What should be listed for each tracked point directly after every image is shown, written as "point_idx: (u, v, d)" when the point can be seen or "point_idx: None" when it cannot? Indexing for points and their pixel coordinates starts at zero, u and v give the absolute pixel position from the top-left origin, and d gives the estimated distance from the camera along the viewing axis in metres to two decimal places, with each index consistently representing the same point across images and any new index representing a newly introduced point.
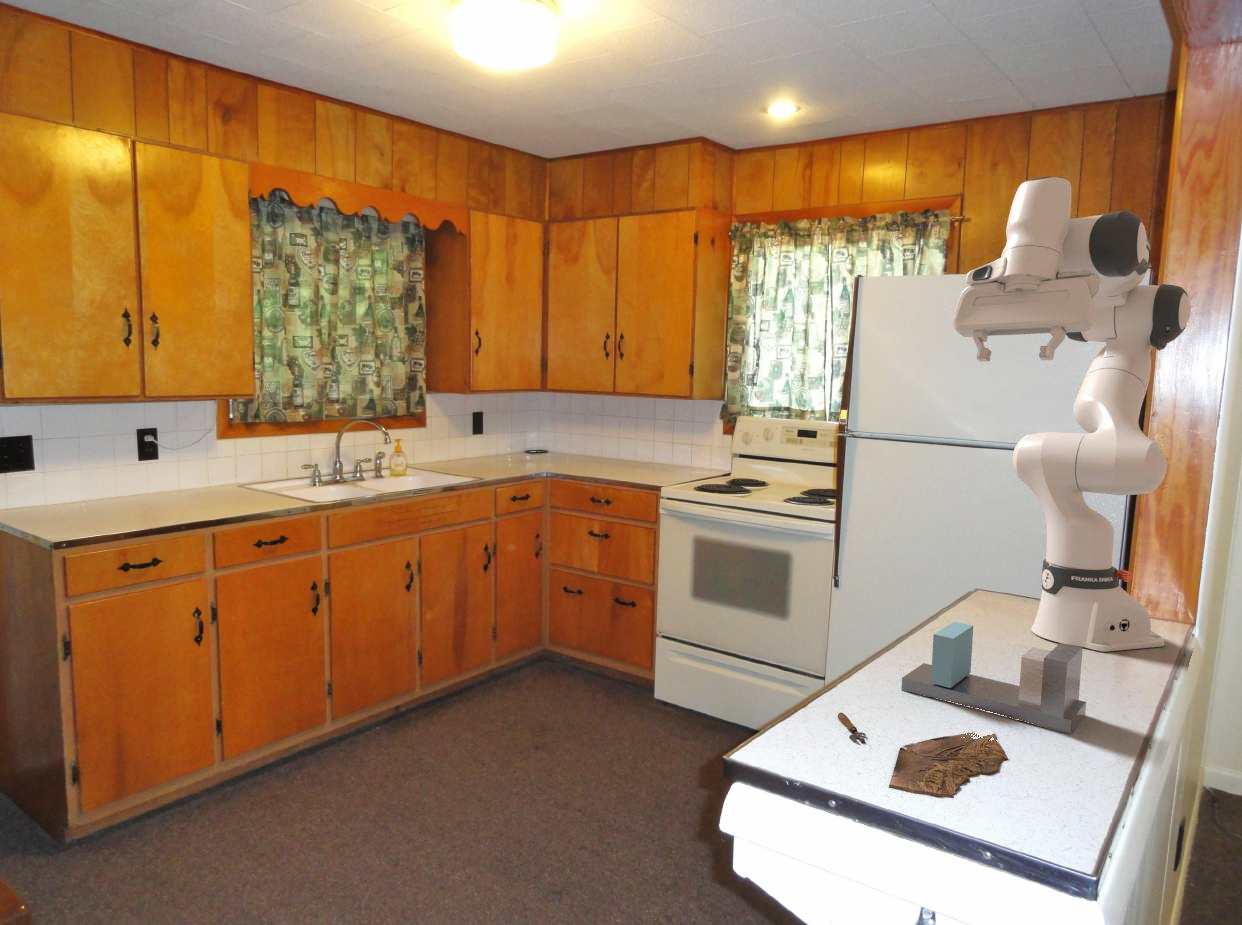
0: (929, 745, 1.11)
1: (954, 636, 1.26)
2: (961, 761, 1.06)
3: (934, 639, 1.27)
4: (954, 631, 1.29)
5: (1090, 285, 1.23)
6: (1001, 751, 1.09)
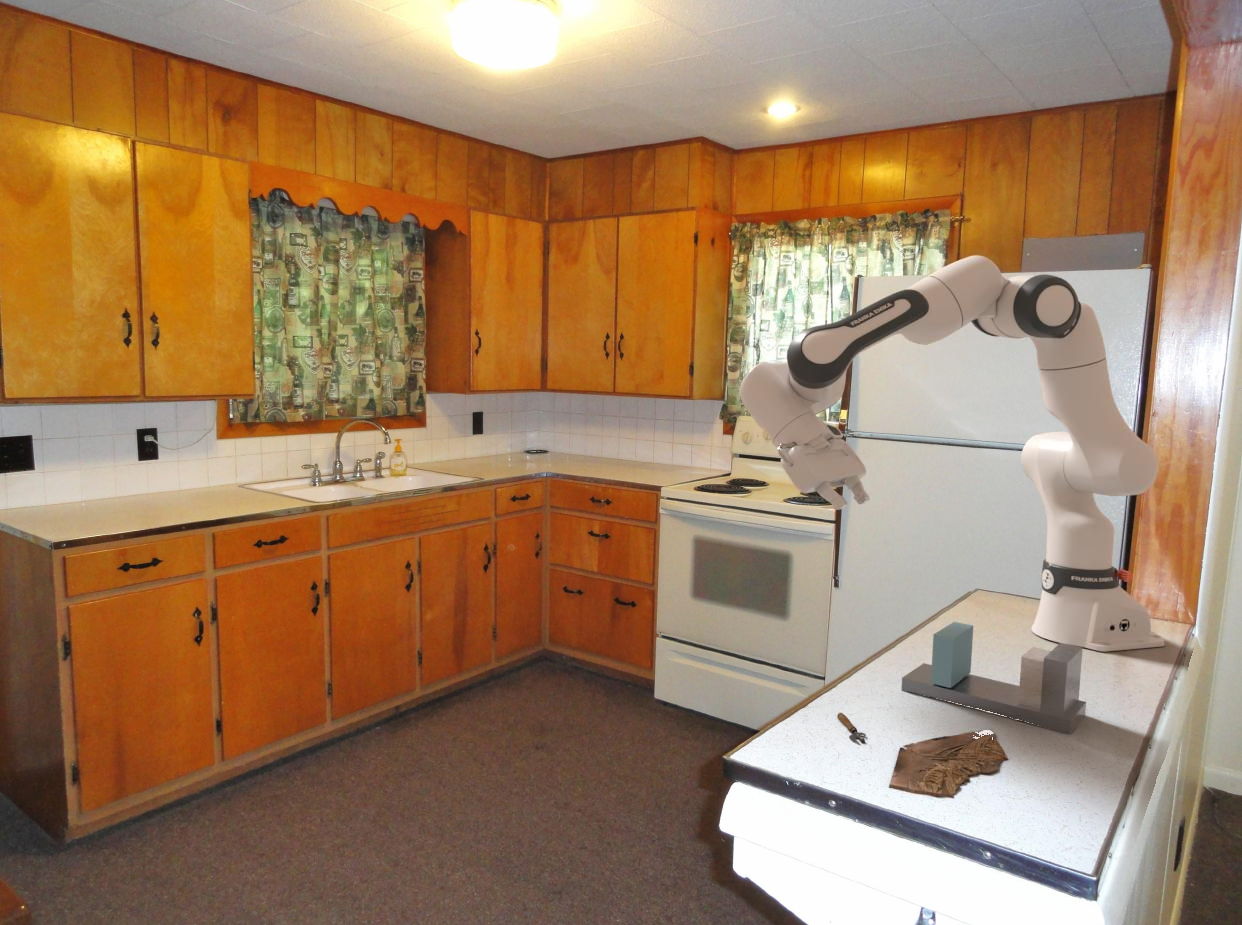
0: (929, 745, 1.11)
1: (954, 636, 1.26)
2: (961, 760, 1.06)
3: (934, 639, 1.27)
4: (954, 631, 1.29)
5: None
6: (1001, 751, 1.09)
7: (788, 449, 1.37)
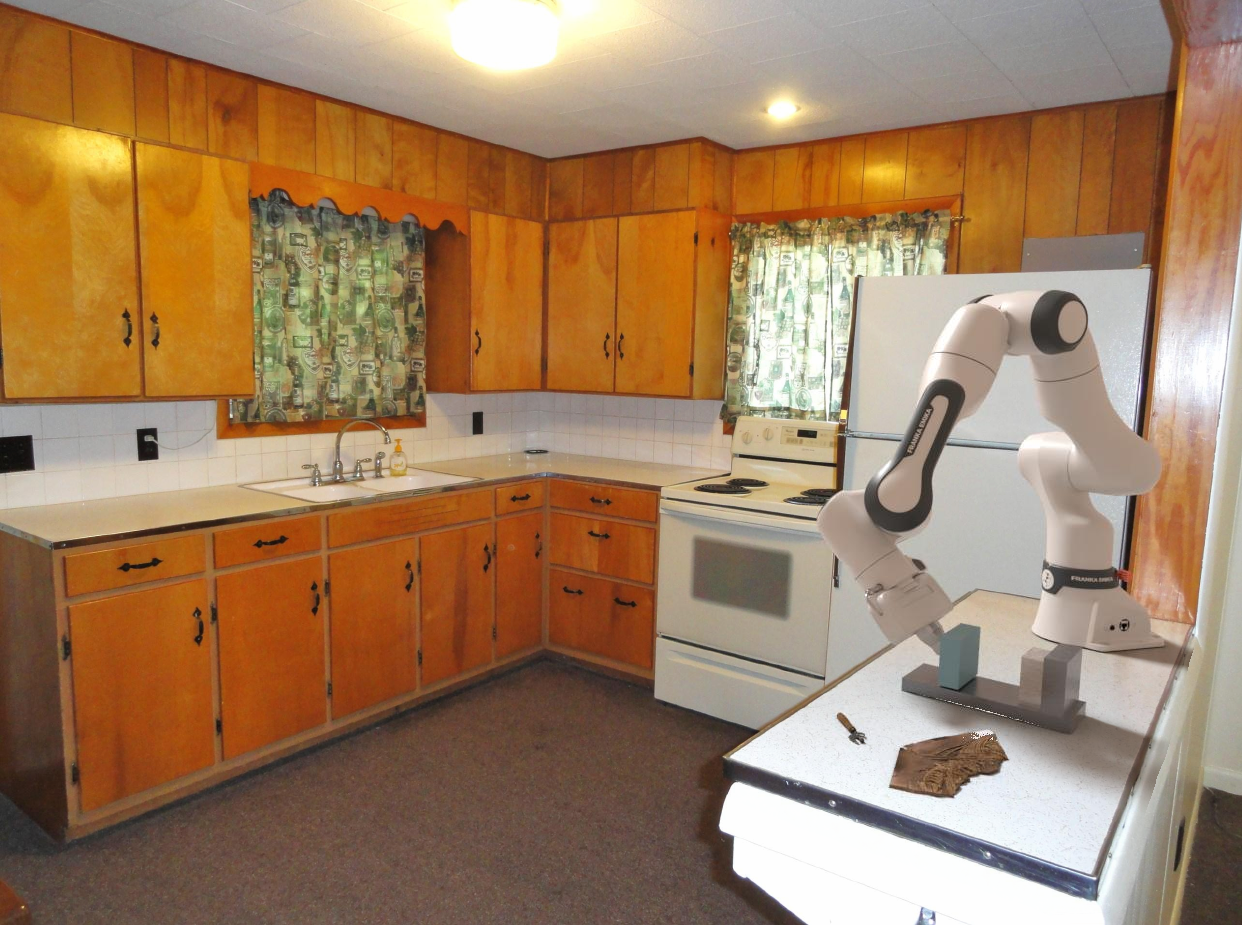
0: (929, 745, 1.11)
1: (961, 638, 1.26)
2: (961, 760, 1.06)
3: (941, 641, 1.26)
4: (961, 632, 1.28)
5: None
6: (1001, 751, 1.09)
7: (876, 595, 1.29)
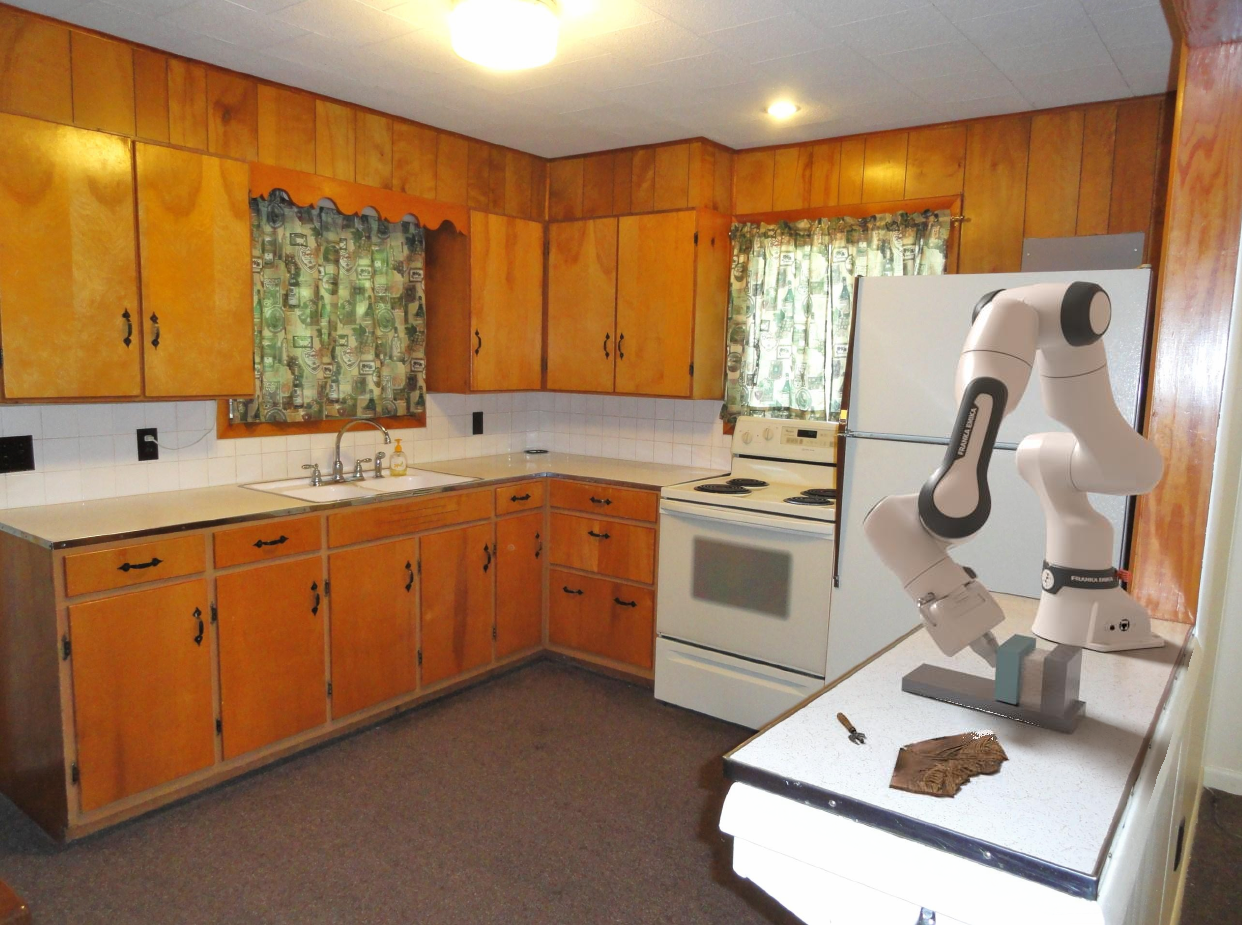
0: (929, 745, 1.11)
1: (1019, 650, 1.20)
2: (961, 760, 1.06)
3: (998, 653, 1.21)
4: (1017, 644, 1.23)
5: None
6: (1001, 751, 1.09)
7: (928, 604, 1.24)
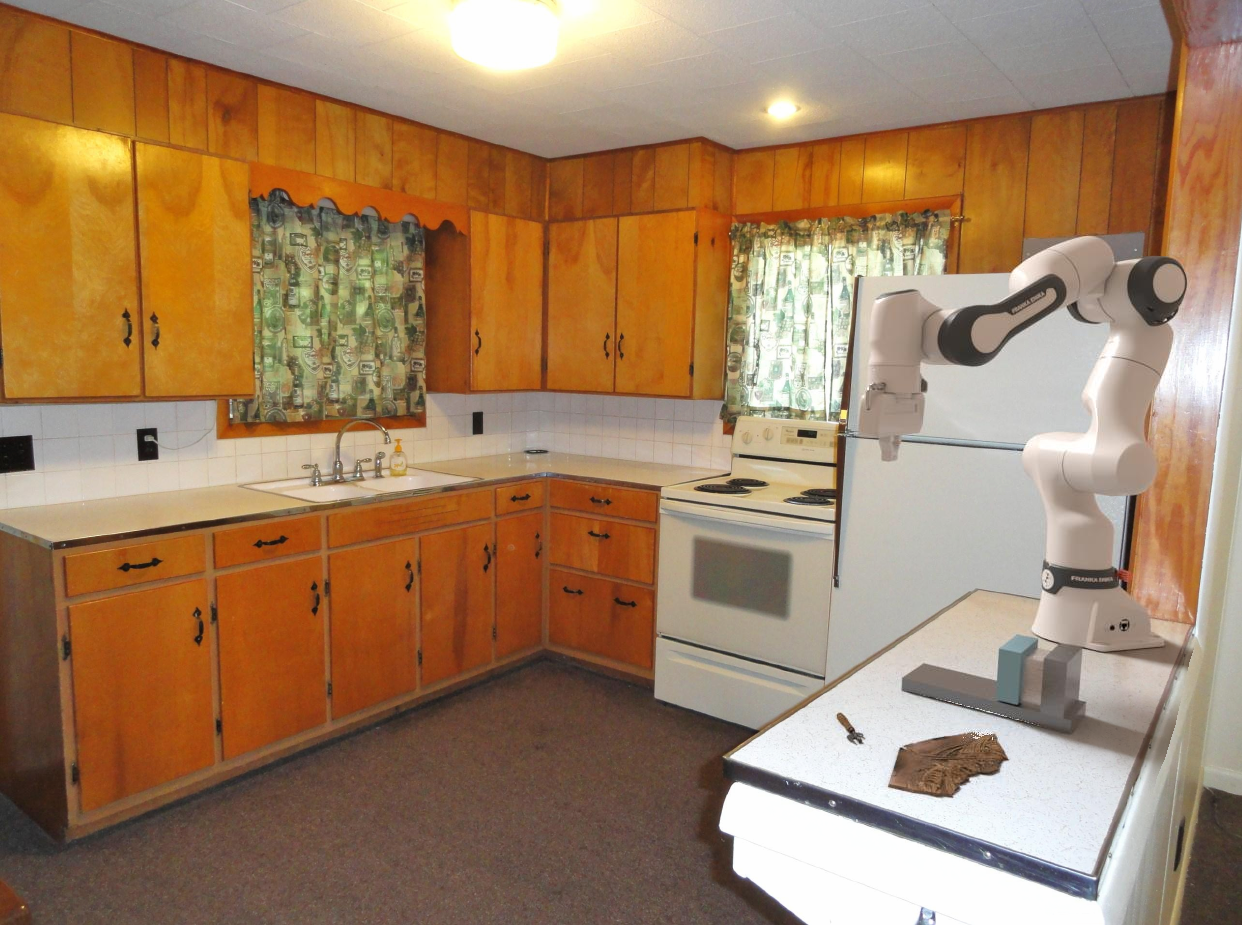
0: (929, 745, 1.11)
1: (1021, 650, 1.20)
2: (961, 760, 1.07)
3: (999, 653, 1.21)
4: (1019, 644, 1.23)
5: None
6: (1001, 751, 1.09)
7: (876, 391, 1.41)
